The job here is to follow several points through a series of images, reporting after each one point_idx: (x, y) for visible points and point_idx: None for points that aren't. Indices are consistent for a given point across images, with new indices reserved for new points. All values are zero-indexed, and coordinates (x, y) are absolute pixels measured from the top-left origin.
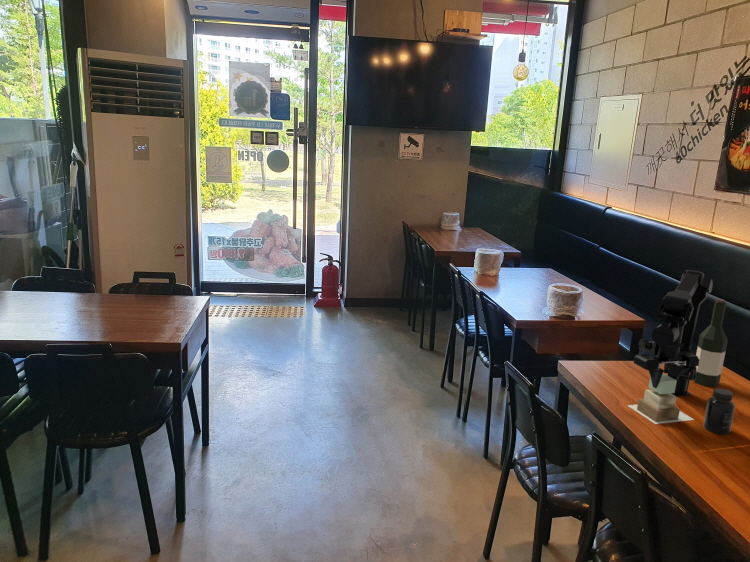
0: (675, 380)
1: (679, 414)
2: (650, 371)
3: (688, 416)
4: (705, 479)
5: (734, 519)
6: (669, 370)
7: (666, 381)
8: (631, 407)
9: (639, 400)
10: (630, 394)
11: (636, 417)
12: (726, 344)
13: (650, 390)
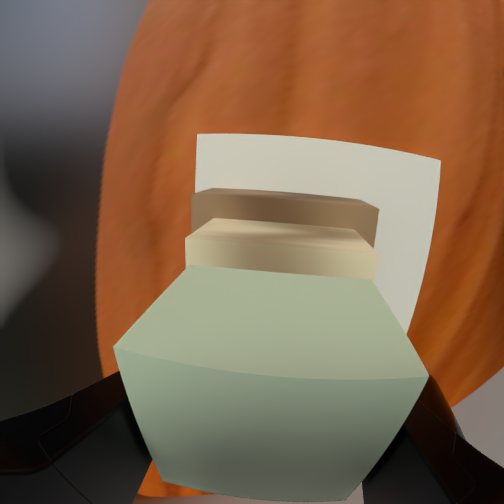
0: (332, 499)
1: (391, 293)
2: (20, 442)
3: (409, 316)
4: (157, 471)
5: (140, 492)
6: (435, 493)
7: (211, 491)
8: (202, 158)
9: (192, 204)
10: (330, 26)
11: (163, 248)
12: None
13: (225, 262)
